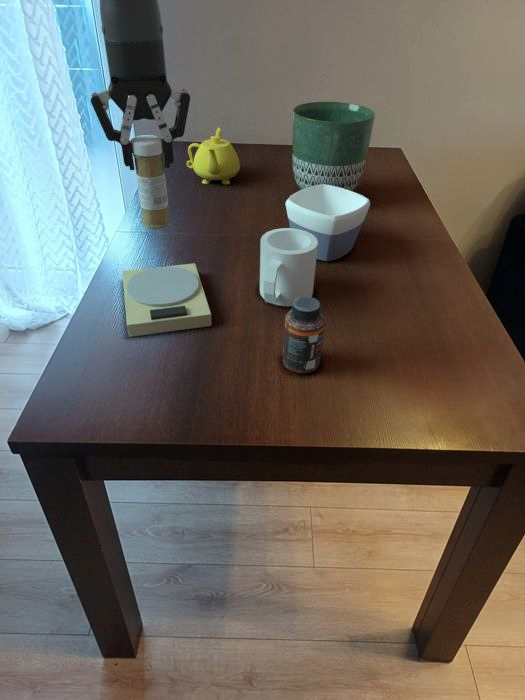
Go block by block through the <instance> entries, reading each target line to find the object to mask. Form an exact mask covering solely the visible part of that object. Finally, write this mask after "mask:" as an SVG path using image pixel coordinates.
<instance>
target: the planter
mask: <svg viewBox="0 0 525 700" xmlns="http://www.w3.org/2000/svg"><path fill="white" fill-rule="evenodd" d="M375 118H376V113H375V111H374V110H372V109H371V108H368V107H366V106H363V105H359V104H355V103H349V102H341V101H311V102H305V103H300V104H297V105H295V106H294V107H293V108H292V118H291V119H292V120H291V122H292V128H291V129H292V131H291V132H292V133H291V135H292V136H291V137H292V138H291V141H292V142H291V145H292V146H291V149H292V150H291V153H292V154H291V157H292V158H291V160H292V161H291V163H292V164H291V165H292V174H293V177H294V182H295V184H296V186H297V187H298V189H299V191H300V190H302V189H305V188H308V187H312V186H315V185H321V184H325V185H331V186H336V187H340V188H343V189H346V190H350V191H352V192H354V191H355V190H356V189H357V187H358V186H359V184H360V182H361V180H362V178H363V175H364V171H365V167H366V163H367V158H368V153H369V148H370V144H371V138H372V134H373V130H374V124H375V120H376V119H375Z"/></svg>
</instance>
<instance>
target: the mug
mask: <svg viewBox="0 0 525 700" xmlns="http://www.w3.org/2000/svg"><path fill="white" fill-rule="evenodd" d="M317 246H318V241H317V238H316V237H315V236H314V235H312V234H311V233H309V232H307V231H303V230H300V229H293V228H290V227H280V228H274V229H271V230H269V231H266V232H265V233H264V234H262V236H261V237H260V250H259V253H260V254H259V255H260V256H259V257H260V258H259V295H260V296H261V297H262V299H263V300H264V302H265V303H269V304H272V305H275V306H280V307H293V301H294V300H295V299H297V298H299V297H312V298H313V294H314V285H315V276H316V266H317V265H316V264H317V259H316V256H317Z"/></svg>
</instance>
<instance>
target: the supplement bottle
mask: <svg viewBox="0 0 525 700" xmlns="http://www.w3.org/2000/svg"><path fill="white" fill-rule="evenodd" d="M325 324H326V320H325V315H324V314H323V313H322V312H321V302H320V301H319V300H318V299H316V298H314V297H313V296H312V297H299V298H297V299H295V300H294V301H293V306H291V309H290V310H289V311H288V312H287V313H286V315H285V318H284V327H283V329H284V330H283V343H282V344H283V345H282V364H283V366H284V367H285V368H286V370H289V371H290V372H293V373H296V374H309V373H312V372H314V371H316V370H317V369H318V367H319V366H320V363H321V359H322V358H321V356H322V349H323V339H324V332H325Z"/></svg>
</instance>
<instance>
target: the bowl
mask: <svg viewBox="0 0 525 700" xmlns="http://www.w3.org/2000/svg"><path fill="white" fill-rule="evenodd" d="M370 206H371V201H370V199H369V198H368V197H365V196H364V195H362V194H361V193H359V192H358V193H357V192H356V191H355V192H354V191H353V192H352V191H350V190H346V189H343V188H340V187H336V186H331V185H325V184H321V185H315V186H312V187H308V188H305V189H302V190H300V189H299V190H298V191H295V192H294V193H292V194H291V195H290V196H289V197H288V198H287V199H286V201H285V209H286V214H287V219H288V224H289V228H293V229H300V230H303V231H307V232H309V233H311V234H312V235H314V236H315V237H316V238H317V241H318V246H317V256H316V260H318V261H321V262H331V261H335V260H337V259H340V258H343V257H344V256H346V255H348V253H350V251H352V250H353V248H354V245H355V243H356V240H357V238H358V235H359V233H360V231H361V228H362V226H363V223H364V221H365V219H366V217H367V214H368V212H369V209H370Z"/></svg>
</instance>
